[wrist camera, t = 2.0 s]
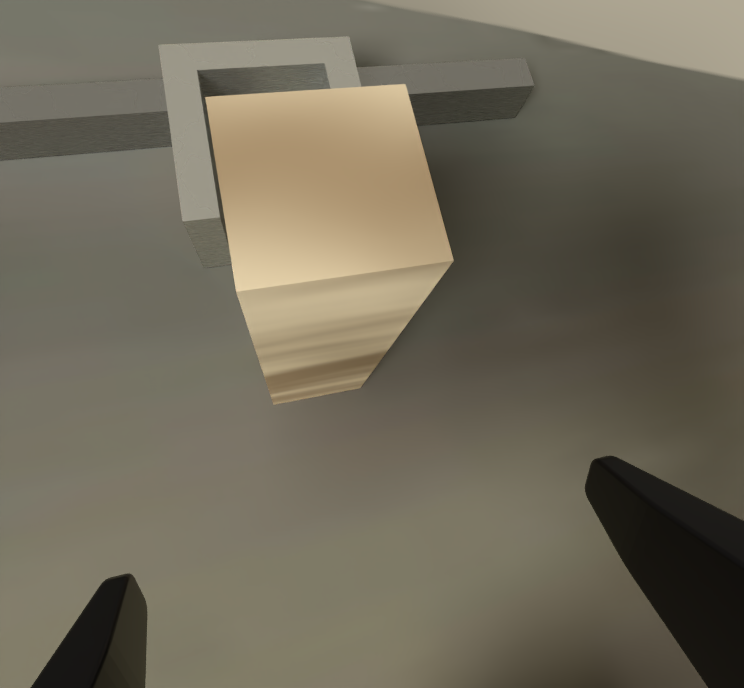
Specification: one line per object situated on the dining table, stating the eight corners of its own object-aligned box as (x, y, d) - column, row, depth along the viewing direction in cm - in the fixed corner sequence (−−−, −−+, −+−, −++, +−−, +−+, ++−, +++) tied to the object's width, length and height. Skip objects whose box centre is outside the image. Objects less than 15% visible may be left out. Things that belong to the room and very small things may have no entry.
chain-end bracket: (549, 222, 26) (597, 174, 22) (-36, 299, 21) (-120, 255, 17) (506, 91, 28) (542, 24, 24) (-40, 130, 23) (-116, 52, 19)
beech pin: (360, 388, 22) (453, 260, 9) (273, 404, 22) (236, 292, 8) (343, 307, 23) (405, 83, 10) (259, 320, 23) (205, 97, 9)
